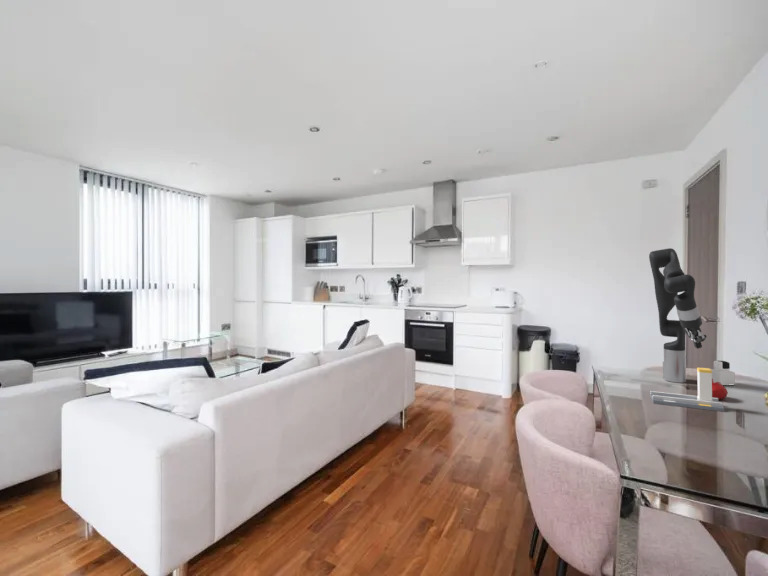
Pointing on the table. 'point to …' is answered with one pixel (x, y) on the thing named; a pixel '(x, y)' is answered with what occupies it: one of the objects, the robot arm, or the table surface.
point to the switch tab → (704, 384)
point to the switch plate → (685, 401)
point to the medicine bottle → (723, 373)
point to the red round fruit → (718, 391)
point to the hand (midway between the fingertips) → (698, 347)
